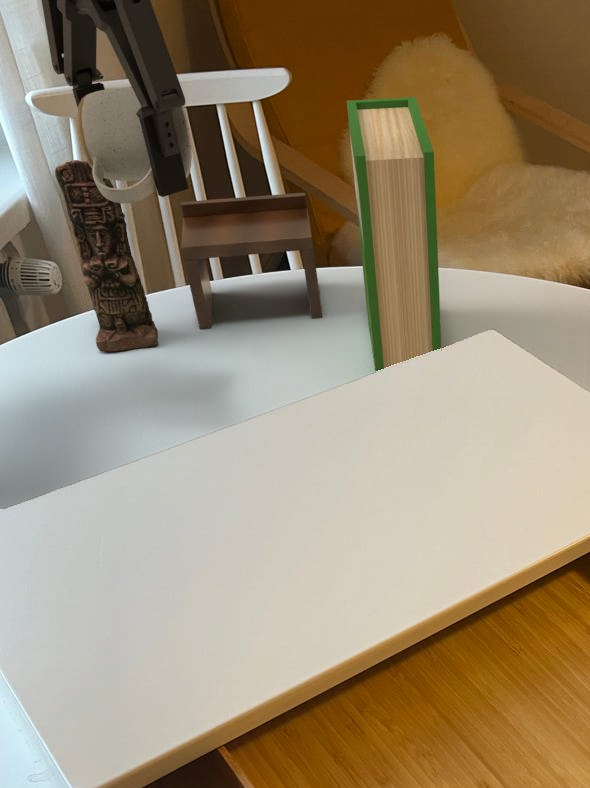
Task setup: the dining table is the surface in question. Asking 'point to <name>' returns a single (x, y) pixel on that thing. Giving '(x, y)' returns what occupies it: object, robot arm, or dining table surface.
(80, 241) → the statue
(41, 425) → the dining table surface
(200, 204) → the wooden step stool
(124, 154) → the ceramic mug
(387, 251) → the hardback book
